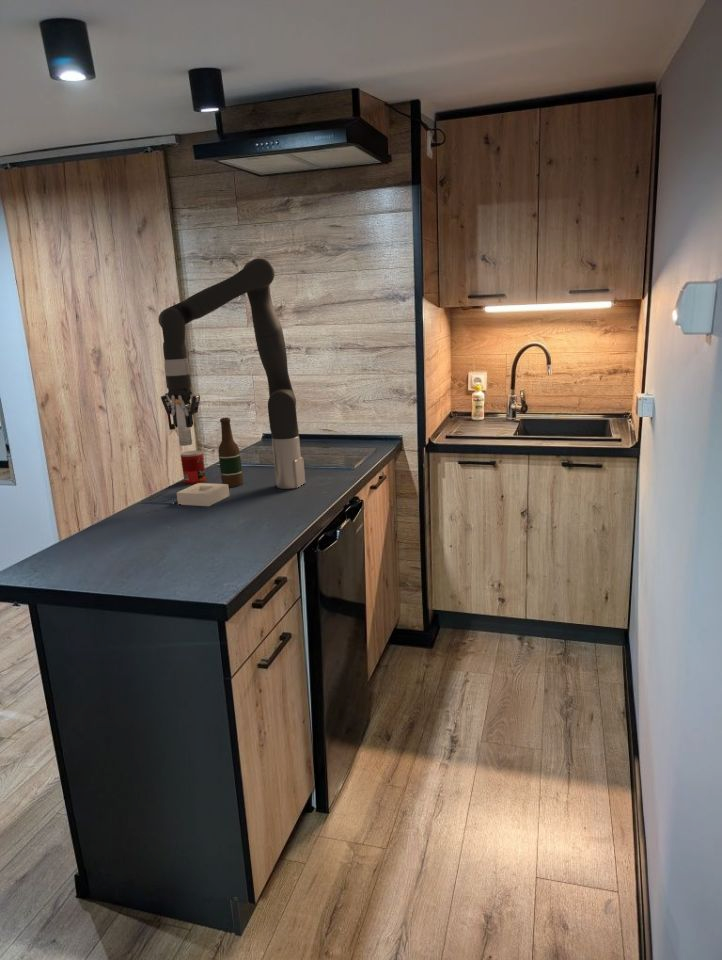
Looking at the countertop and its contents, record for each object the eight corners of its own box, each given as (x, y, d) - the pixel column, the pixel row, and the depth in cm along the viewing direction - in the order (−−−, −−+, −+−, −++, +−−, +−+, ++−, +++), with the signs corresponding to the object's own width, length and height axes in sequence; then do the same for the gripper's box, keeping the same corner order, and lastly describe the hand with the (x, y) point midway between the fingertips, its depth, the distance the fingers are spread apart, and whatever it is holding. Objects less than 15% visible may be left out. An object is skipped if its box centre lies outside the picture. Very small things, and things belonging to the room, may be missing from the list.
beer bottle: (246, 481, 244) (238, 415, 238) (240, 487, 236) (232, 419, 230) (225, 482, 245) (217, 416, 239) (219, 488, 237) (210, 420, 231)
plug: (194, 443, 220) (189, 397, 216) (187, 445, 216) (181, 399, 212) (184, 442, 221) (179, 397, 218) (177, 445, 218) (171, 399, 214)
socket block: (229, 495, 226) (228, 484, 225) (208, 506, 216) (207, 494, 215) (199, 494, 231) (198, 482, 230) (178, 504, 220) (176, 492, 219)
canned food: (203, 483, 245) (199, 454, 242) (181, 485, 245) (177, 455, 243) (208, 478, 252) (204, 449, 250) (187, 479, 253) (183, 451, 250)
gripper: (203, 371, 214) (209, 425, 218) (166, 372, 219) (172, 424, 223) (189, 374, 207) (195, 429, 211) (151, 374, 212) (158, 428, 217)
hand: (183, 426), depth 217 cm, fingers closed on plug, 4 cm apart
